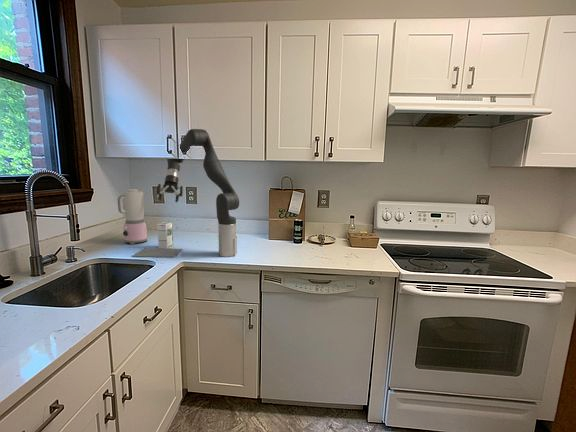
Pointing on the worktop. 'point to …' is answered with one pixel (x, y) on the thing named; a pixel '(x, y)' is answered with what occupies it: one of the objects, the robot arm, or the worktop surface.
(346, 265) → the worktop surface
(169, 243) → the syrup box
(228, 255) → the robot arm
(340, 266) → the worktop surface
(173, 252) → the slate mat
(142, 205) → the blender
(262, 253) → the worktop surface
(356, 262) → the worktop surface
